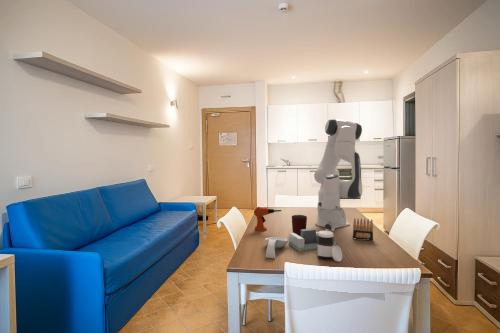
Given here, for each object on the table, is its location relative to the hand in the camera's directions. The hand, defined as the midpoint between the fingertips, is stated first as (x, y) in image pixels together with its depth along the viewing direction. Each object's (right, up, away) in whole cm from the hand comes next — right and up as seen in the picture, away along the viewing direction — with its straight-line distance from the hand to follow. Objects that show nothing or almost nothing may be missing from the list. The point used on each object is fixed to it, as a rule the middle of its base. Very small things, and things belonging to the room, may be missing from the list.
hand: (331, 230), depth 157 cm
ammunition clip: (+19, -7, +6) cm, 22 cm away
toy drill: (-33, -6, +24) cm, 42 cm away
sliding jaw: (-5, -5, -1) cm, 8 cm away
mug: (-15, -6, +17) cm, 23 cm away
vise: (-11, -7, -3) cm, 14 cm away
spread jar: (-7, -9, -21) cm, 24 cm away
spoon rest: (-32, -8, -10) cm, 34 cm away
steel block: (-14, -6, -4) cm, 15 cm away
